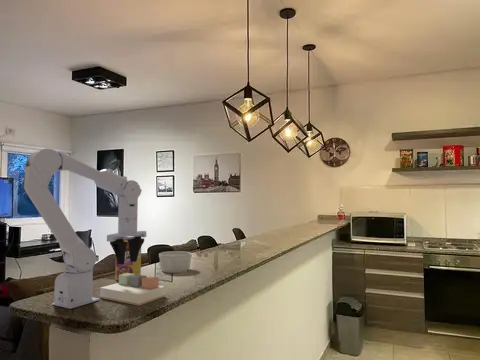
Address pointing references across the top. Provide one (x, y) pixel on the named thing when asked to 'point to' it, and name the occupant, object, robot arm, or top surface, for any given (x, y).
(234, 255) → the top surface
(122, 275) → the key sage
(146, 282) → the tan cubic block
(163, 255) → the ramekin
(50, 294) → the top surface
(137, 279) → the key slate
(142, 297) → the pad
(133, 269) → the candy box
